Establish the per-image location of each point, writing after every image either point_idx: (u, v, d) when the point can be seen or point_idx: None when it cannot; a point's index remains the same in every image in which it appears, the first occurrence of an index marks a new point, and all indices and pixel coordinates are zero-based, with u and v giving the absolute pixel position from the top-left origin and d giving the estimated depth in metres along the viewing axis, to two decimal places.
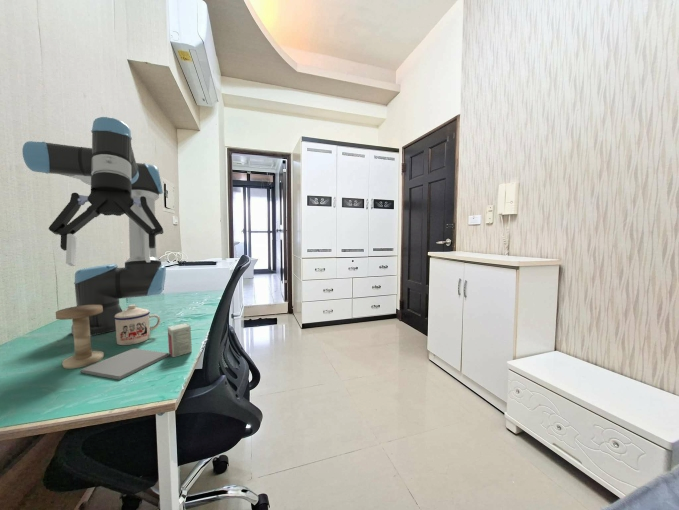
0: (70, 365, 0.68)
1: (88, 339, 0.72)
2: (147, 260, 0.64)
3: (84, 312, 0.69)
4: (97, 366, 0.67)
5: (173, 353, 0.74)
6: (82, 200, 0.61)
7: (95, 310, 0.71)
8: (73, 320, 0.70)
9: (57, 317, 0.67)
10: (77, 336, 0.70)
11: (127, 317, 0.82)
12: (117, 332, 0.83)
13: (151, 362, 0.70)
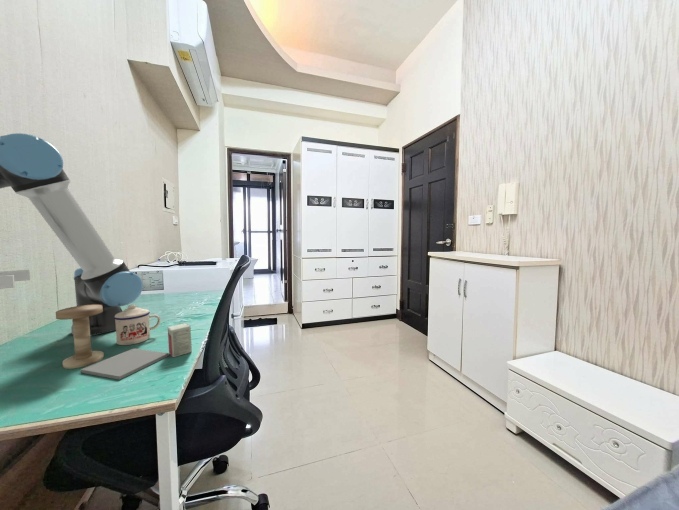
0: (70, 365, 0.68)
1: (88, 339, 0.72)
2: (13, 283, 0.59)
3: (84, 312, 0.69)
4: (97, 366, 0.67)
5: (173, 353, 0.74)
6: None
7: (95, 310, 0.71)
8: (73, 320, 0.70)
9: (57, 317, 0.67)
10: (77, 336, 0.70)
11: (127, 317, 0.82)
12: (117, 332, 0.83)
13: (151, 362, 0.70)
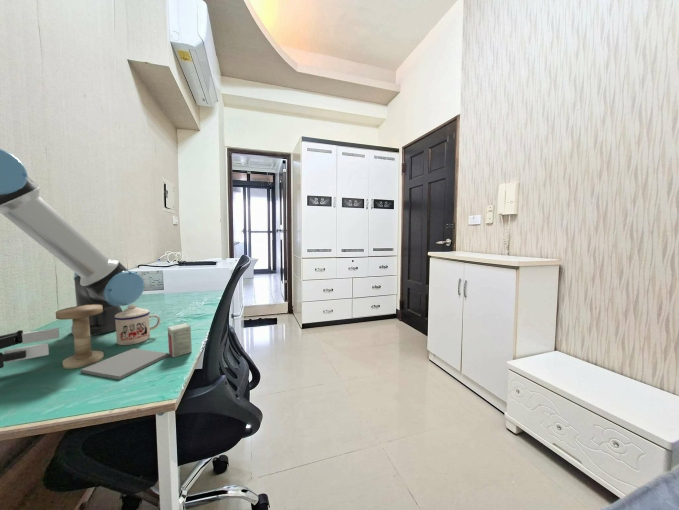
0: (70, 365, 0.68)
1: (88, 339, 0.72)
2: (48, 350, 0.63)
3: (84, 312, 0.69)
4: (97, 366, 0.67)
5: (173, 353, 0.74)
6: None
7: (95, 310, 0.71)
8: (73, 320, 0.70)
9: (57, 317, 0.67)
10: (77, 336, 0.70)
11: (127, 317, 0.82)
12: (117, 332, 0.83)
13: (151, 362, 0.70)
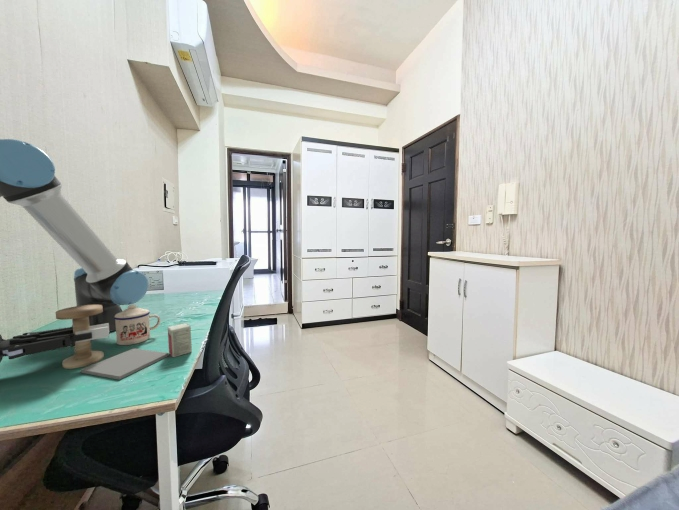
0: (70, 365, 0.68)
1: None
2: (108, 333, 0.74)
3: (84, 312, 0.69)
4: (97, 366, 0.67)
5: (173, 353, 0.74)
6: None
7: (95, 310, 0.71)
8: (73, 320, 0.70)
9: (57, 317, 0.67)
10: None
11: (127, 317, 0.82)
12: (117, 332, 0.83)
13: (151, 362, 0.70)
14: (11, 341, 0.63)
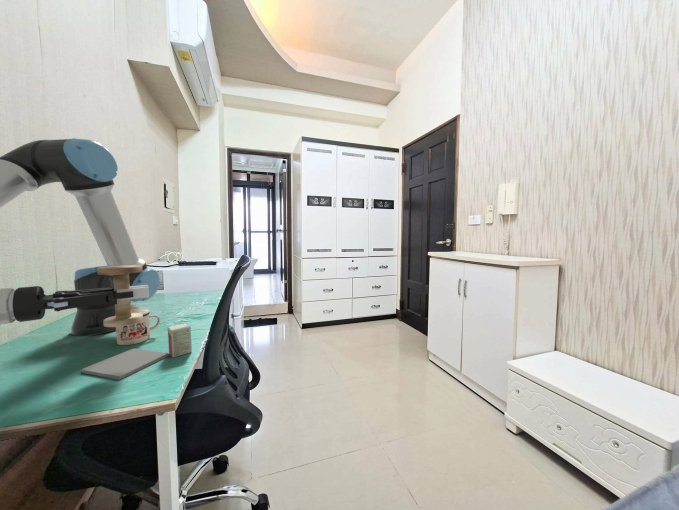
0: (112, 323, 0.66)
1: None
2: (148, 293, 0.71)
3: (126, 269, 0.66)
4: (97, 366, 0.67)
5: (173, 353, 0.74)
6: None
7: (136, 268, 0.68)
8: (114, 278, 0.67)
9: (99, 273, 0.65)
10: None
11: None
12: (117, 332, 0.83)
13: (151, 362, 0.70)
14: (55, 294, 0.60)
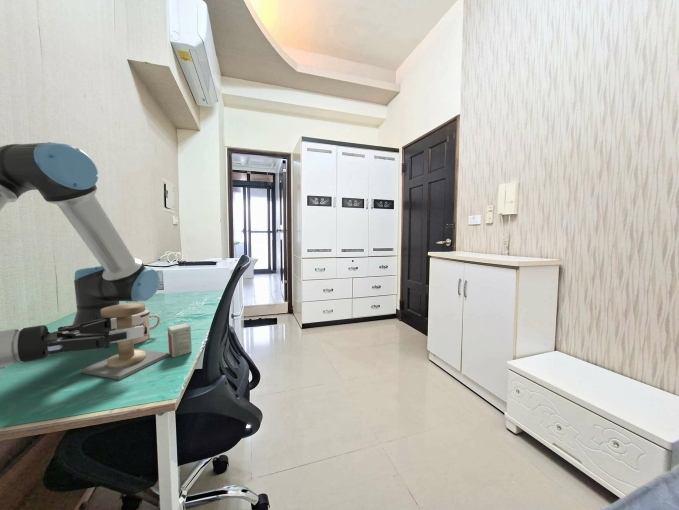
0: (115, 365, 0.67)
1: None
2: (143, 332, 0.67)
3: (129, 310, 0.67)
4: (97, 366, 0.67)
5: (173, 353, 0.74)
6: None
7: (139, 308, 0.69)
8: (117, 318, 0.68)
9: (103, 315, 0.66)
10: None
11: None
12: None
13: (151, 362, 0.70)
14: (57, 334, 0.61)
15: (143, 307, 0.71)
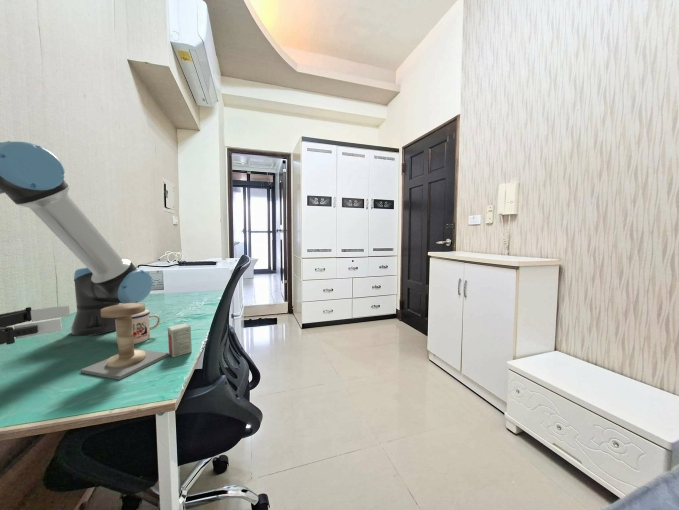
0: (115, 365, 0.67)
1: (131, 338, 0.70)
2: (61, 326, 0.59)
3: (129, 310, 0.67)
4: (97, 366, 0.67)
5: (173, 353, 0.74)
6: None
7: (139, 308, 0.69)
8: (117, 318, 0.68)
9: (103, 315, 0.66)
10: (122, 335, 0.69)
11: None
12: None
13: (151, 362, 0.70)
14: None
15: (143, 307, 0.71)
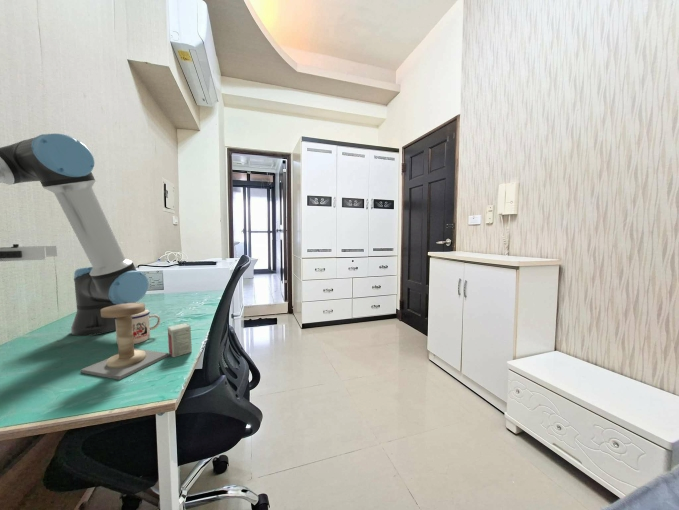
0: (115, 365, 0.67)
1: (131, 338, 0.70)
2: (45, 255, 0.60)
3: (129, 310, 0.67)
4: (97, 366, 0.67)
5: (173, 353, 0.74)
6: None
7: (139, 308, 0.69)
8: (117, 318, 0.68)
9: (103, 315, 0.66)
10: (122, 335, 0.69)
11: None
12: None
13: (151, 362, 0.70)
14: None
15: (143, 307, 0.71)
